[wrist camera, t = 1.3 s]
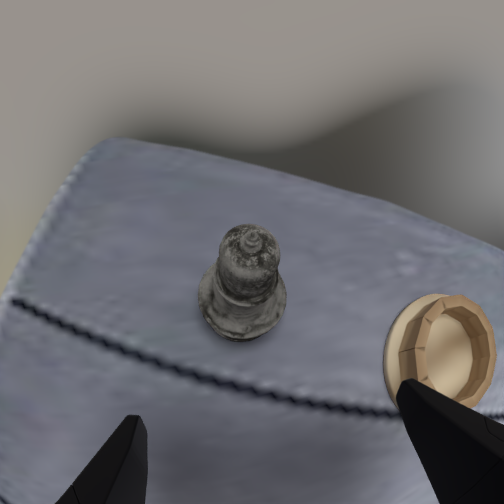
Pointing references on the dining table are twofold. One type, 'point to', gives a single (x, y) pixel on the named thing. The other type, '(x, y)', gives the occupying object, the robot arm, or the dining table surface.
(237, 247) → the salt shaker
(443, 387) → the dish
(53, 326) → the dining table surface
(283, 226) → the dining table surface
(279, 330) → the dining table surface
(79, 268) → the dining table surface
